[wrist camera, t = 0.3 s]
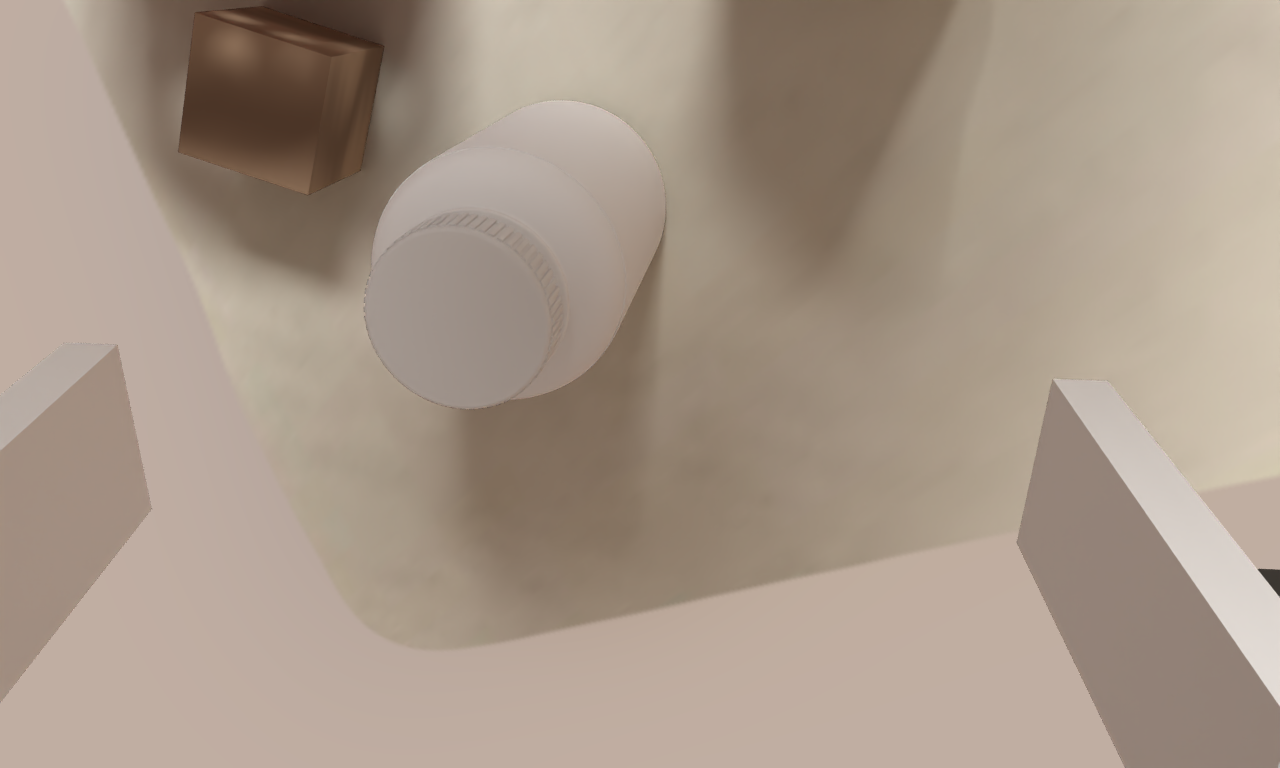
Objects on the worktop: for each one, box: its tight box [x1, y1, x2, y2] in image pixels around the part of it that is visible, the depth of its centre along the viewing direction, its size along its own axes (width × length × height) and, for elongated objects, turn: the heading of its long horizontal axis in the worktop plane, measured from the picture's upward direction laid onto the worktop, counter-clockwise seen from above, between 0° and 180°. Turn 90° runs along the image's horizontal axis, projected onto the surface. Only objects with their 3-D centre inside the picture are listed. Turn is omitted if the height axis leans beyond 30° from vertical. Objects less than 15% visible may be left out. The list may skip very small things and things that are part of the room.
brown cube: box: [178, 6, 384, 195], centre depth 41 cm, size 5×5×5 cm
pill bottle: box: [364, 100, 666, 410], centre depth 36 cm, size 8×8×15 cm
